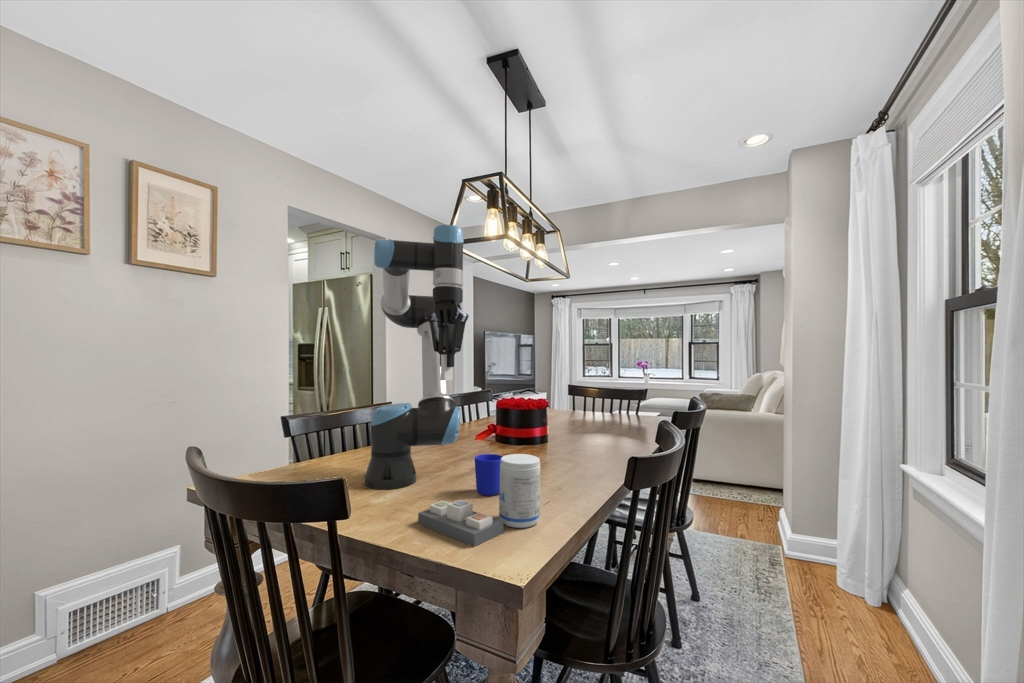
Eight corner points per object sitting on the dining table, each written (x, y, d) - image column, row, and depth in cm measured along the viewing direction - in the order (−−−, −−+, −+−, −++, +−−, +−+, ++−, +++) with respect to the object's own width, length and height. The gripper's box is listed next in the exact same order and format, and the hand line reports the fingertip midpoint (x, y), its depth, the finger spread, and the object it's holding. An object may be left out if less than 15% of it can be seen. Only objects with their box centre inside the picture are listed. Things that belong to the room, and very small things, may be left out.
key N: (429, 518, 100) (429, 504, 100) (442, 514, 103) (442, 499, 103) (441, 523, 97) (441, 508, 98) (454, 518, 101) (454, 503, 101)
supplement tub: (494, 515, 104) (495, 454, 104) (531, 511, 107) (531, 452, 107) (505, 531, 95) (506, 464, 95) (546, 527, 98) (546, 461, 98)
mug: (516, 498, 117) (517, 461, 117) (472, 497, 117) (473, 460, 117) (517, 488, 125) (517, 454, 125) (475, 488, 125) (476, 453, 125)
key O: (465, 532, 92) (466, 516, 93) (478, 527, 96) (479, 511, 96) (479, 537, 90) (479, 521, 90) (492, 531, 93) (492, 516, 93)
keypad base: (418, 524, 99) (418, 512, 99) (447, 512, 106) (447, 502, 106) (474, 546, 87) (474, 534, 87) (503, 532, 94) (503, 521, 94)
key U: (447, 518, 96) (447, 503, 96) (460, 513, 99) (460, 498, 99) (459, 523, 94) (459, 507, 94) (472, 517, 97) (472, 502, 97)
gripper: (419, 287, 110) (418, 379, 110) (454, 282, 102) (453, 382, 102) (441, 291, 116) (440, 378, 116) (476, 286, 108) (475, 380, 107)
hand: (446, 380), depth 109 cm, fingers closed
